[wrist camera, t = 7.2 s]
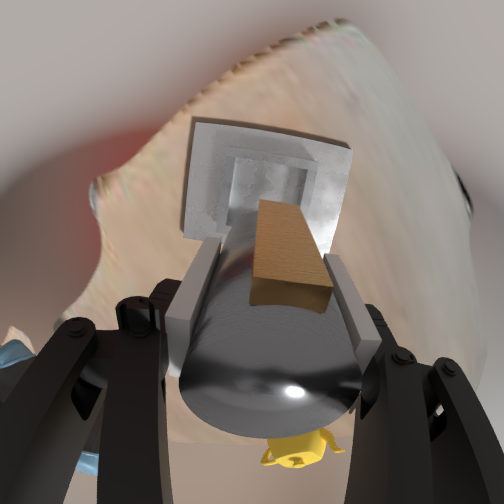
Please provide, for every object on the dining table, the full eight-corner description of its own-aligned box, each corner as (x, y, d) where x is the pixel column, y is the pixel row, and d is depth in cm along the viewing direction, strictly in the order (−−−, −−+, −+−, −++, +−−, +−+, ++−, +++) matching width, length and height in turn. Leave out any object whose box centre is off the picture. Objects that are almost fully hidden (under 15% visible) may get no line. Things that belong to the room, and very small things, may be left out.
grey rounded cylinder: (220, 285, 17) (182, 427, 8) (230, 190, 15) (174, 288, 6) (303, 296, 17) (327, 439, 8) (324, 205, 15) (403, 314, 6)
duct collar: (185, 234, 35) (177, 245, 32) (197, 122, 29) (190, 121, 26) (325, 257, 35) (330, 270, 32) (351, 149, 30) (361, 151, 26)
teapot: (330, 399, 47) (338, 444, 37) (345, 421, 51) (353, 460, 41) (250, 423, 51) (247, 465, 41) (273, 442, 55) (273, 479, 45)
